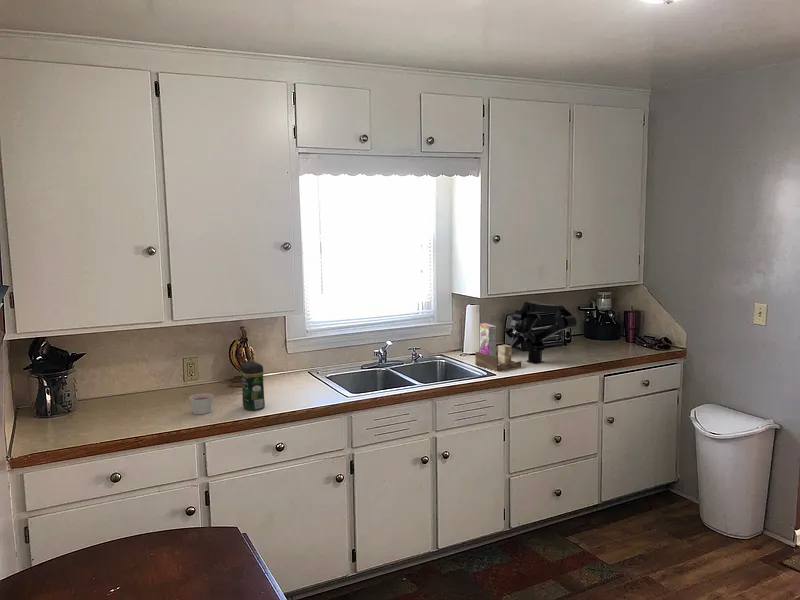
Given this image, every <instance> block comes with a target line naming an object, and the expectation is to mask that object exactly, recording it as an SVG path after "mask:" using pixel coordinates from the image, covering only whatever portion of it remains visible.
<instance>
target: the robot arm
mask: <svg viewBox="0 0 800 600" xmlns="http://www.w3.org/2000/svg"><path fill="white" fill-rule="evenodd" d="M535 312H536V313H535ZM537 312H538V313H537ZM539 312H541V313H552V314H554V319H555V321H556V322H555V324H553V325H552V326H550V327H548V328H546V329H544V330H542V331H535V332H532V331H533V329H532V328H533V326H535V324H536V323H537V321H541V320H542V319H541V315H540V314H539ZM511 318H512V319H511V320H510V322H509V326H510V327H506V326H505V328H504V329H503V331H504V333H505V335H507V337H509V339H511V340H510V345H509V346H511V349H513V348H515V347H517V346H519V345H521V344H523V343H524V346H525V350H526V352H528V356H527V359H528V360H526V362H527V363H531V364H541V363H544V362H545V361H544V360H543V357H542V356H543V351H545V349H546V346H545V344H544V341H545V340H547V339H548V338H550V337H552V336H555V335H556V334H558V333H559V332H562V331H565V330H568V329H572V328H575V327H576V326H577V319H576V317H575V316H574V315H573V314H572V313H571V312H570V311H569V310H568V309H566V308H565V306H563V305H562V304H550V303H548V304H547V303H542V302H540V301H538V300H537V301H536V300H530V301H524V302H523V305H522V306H521V308H520V309H515V312H514V313H513V315H512V316H511ZM512 327H513V328H512Z"/></svg>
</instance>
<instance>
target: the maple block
mask: <svg viewBox="0 0 800 600" xmlns="http://www.w3.org/2000/svg"><path fill="white" fill-rule="evenodd" d="M497 356H498V361H499V362H503V363H507V362H511V361H512V348H511V346H510V345H508V344H501V345H500V344H499V345H497Z"/></svg>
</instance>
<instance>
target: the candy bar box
mask: <svg viewBox="0 0 800 600" xmlns="http://www.w3.org/2000/svg"><path fill="white" fill-rule="evenodd" d="M479 324H480V353H483V354H487V355H491V356H497V326H496V325H493V324H490V323H487V322H486V323H484V322H483V323H479Z"/></svg>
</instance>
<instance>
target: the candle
mask: <svg viewBox="0 0 800 600" xmlns="http://www.w3.org/2000/svg"><path fill="white" fill-rule="evenodd" d="M213 398H214V394H211V393H205V392H202V393H196V394H192V395H190V396H189V397H188V399H189V404H190V408H191V412H192V413H193V414H194V415H207V414H209V413H210V412H211V411H212V405H213V400H214V399H213Z"/></svg>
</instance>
